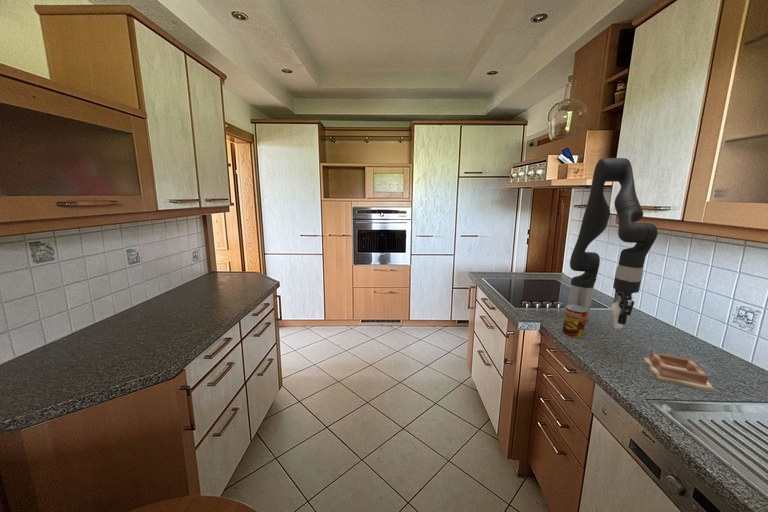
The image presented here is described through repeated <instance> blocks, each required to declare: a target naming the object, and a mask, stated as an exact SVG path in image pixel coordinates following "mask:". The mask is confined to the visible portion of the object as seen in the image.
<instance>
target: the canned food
mask: <svg viewBox="0 0 768 512" xmlns="http://www.w3.org/2000/svg"><path fill="white" fill-rule="evenodd" d="M587 311H588V310H587V309H586V308H584V307H582V306H578V305H568V304H566V305H565V311H564V318H563V322H562V323H563V324H562V331H561V332H562V334H563V335H565V336H567V337H569V336H570V337H569V338H573V337H575V339H581V337H582V338H583V337H584V333H585V328H586V324H587V322H586V317H587Z"/></svg>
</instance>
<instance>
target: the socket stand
mask: <svg viewBox="0 0 768 512" xmlns="http://www.w3.org/2000/svg"><path fill="white" fill-rule="evenodd" d="M649 356H650V357H647V356H642V360H643V362H644V363H645V365H646V366H647V367H648V369H649V371H650V372H651V373H652V375H653V376H654V378H655V380H656V381H659V382H660V381H661V382H665V383H670V384H673V385H674V384H675V385H679V386H683V387H689V388H693V389H698V390H702V391H703V390H704V391H708V392H713V393H715V391H716V389H715V387H713V385H712V384H711V383H710V382H709V376H708V375H707V374H706V372H705V371H703V370H702V368H701V367H699V365H698V364H696V363H695V362H694V360H693V359H691V358H686V357H680V356H674V355H669V354H663V353H658V352H654V351H652V352H650V355H649Z"/></svg>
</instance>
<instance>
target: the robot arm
mask: <svg viewBox="0 0 768 512" xmlns="http://www.w3.org/2000/svg"><path fill="white" fill-rule="evenodd" d="M607 182H608V183H609V182H611V183H612V182H614V183H617V182H618V183H619V185H620V189H619V191H618V193H617V194H616V196H615V199H614V209H615V212H616V214H617V216H618V229H617V235H618V238H619V239H620V240H621V241H622V242H624V243H629V244H631V243H632V244H634V243H635V245H634V246H632V247H628V248H623V249H622V250H621V252H620V254H619V258H618V265H617V267H616V269H615V276H614V281H613V285H612V287H613V288H614V298H613V299H614V300H613V303H615V302H617V301H619V303H618V307H619V308H620V312H619V313H620V314H619V318H618V323H619V324H623V325H626V323H627V319H628V317H630V316H631V315H632V312H633V308H634V304H635V301H634V300H633V296H632V295H633V294H637V293H639V292H640V289H641V284H642V279H643V275H644V265H645V261H646V258H647V255H648V253H649V252H650V250H651V248H652V247H653V245H654V243H655V241H657V237H658V234H659V231H658V227H657V226H656V225H655V224H653V223H650V222H639V221H640V220H641V219H643V218H644V212H643V209H642V206H641V204H640V201H639V198H638V197H637V192H636V185H635V179H634V172H633V166H632V164H631V162H630V160H629V159H628V158H626V157H604V158H603V157H602V158H600V159H599V160H598V161H597V163H596V165H595V167H594V170H593V175H592V180H591V185H590V186H591V187H590V192H589V195H588V200H587V204H586V208H585V211H584V214H583V217H582V220H581V225H580V229H579V232H578V236H577V239H576V242H575V245H574V248H573V250H572V253H571V255H570V259H569V267H570V270H572V271H574V272H583V273H581V274H580V275H576V276H573V277H571V280H570V284H569V285H570V286H569V293H568V300H567V305H578V306H582V307H584V308H586V309H587V310H588V311H587V317H586V323H588V322H589V317H590V312H591V305H592V299H593V295H594V289H595V288H594V287H595V284H596V281H597V276H598V273H599V268H600V266H601V265H600V264H601V258H600V255H599V254H598V253H597V252H593V251H586V250H587V248H588V247H589V245H590V244H591V243H592V242H593V241H594V240H596V239H597V238H598V237H599V236H600V235H601V234H602V233H603V232H604V231H606V229H607V226H608V222H609V220H610V216H611V210H610V207H609V205H608V202H607V201H606V200H607V199H606V198H605V194H604V189H605V183H607ZM622 305H623V306H622ZM625 310H627V311H626V312H625ZM627 315H628V317H627Z"/></svg>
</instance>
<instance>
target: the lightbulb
mask: <svg viewBox="0 0 768 512" xmlns="http://www.w3.org/2000/svg"><path fill="white" fill-rule="evenodd" d="M618 303H619V301H617V302H615V303H614V302H613V303H612V304H611V307H610V310H611V313H612V315H613V327H614V328H615V329H616V330H620V329H622V328H623V327H624V324H619V323H618V318H619V314H620V313H619V312H620V308H619V307H618ZM622 306H623V305H622ZM626 311H627V310H625V312H626ZM628 317H629V316H628V315H627V318H628Z"/></svg>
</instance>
